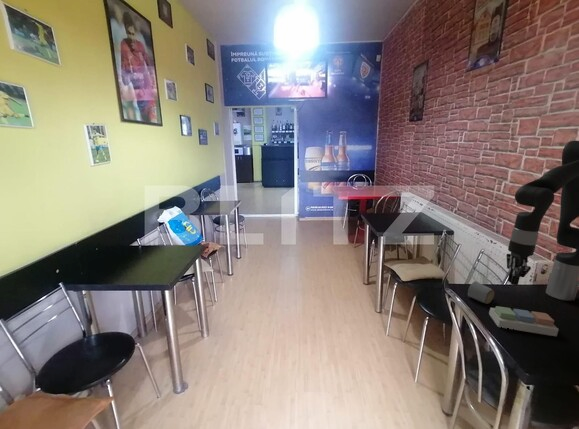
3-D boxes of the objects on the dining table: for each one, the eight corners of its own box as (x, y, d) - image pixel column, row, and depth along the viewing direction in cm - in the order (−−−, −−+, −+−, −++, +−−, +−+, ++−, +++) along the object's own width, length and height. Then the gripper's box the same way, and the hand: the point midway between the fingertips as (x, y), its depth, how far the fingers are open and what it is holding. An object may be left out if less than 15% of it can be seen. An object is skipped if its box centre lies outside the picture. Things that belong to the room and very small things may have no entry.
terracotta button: (544, 319, 113) (546, 313, 112) (552, 327, 108) (554, 320, 107) (529, 317, 114) (531, 311, 113) (536, 324, 109) (538, 318, 109)
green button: (508, 314, 116) (509, 308, 115) (514, 321, 111) (516, 315, 110) (494, 312, 117) (495, 306, 116) (499, 319, 112) (501, 312, 112)
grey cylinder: (485, 307, 125) (489, 291, 123) (465, 298, 131) (469, 282, 129) (496, 300, 130) (500, 285, 128) (477, 292, 137) (480, 277, 135)
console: (542, 322, 115) (544, 315, 114) (556, 336, 107) (558, 329, 106) (489, 313, 120) (490, 307, 119) (498, 327, 111) (499, 320, 110)
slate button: (526, 316, 114) (528, 310, 114) (533, 324, 110) (534, 318, 109) (511, 314, 115) (513, 308, 115) (517, 322, 111) (519, 315, 110)
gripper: (545, 248, 98) (533, 293, 103) (525, 236, 111) (515, 276, 116) (520, 245, 100) (509, 290, 105) (503, 233, 113) (493, 274, 118)
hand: (512, 283), depth 110 cm, fingers closed
